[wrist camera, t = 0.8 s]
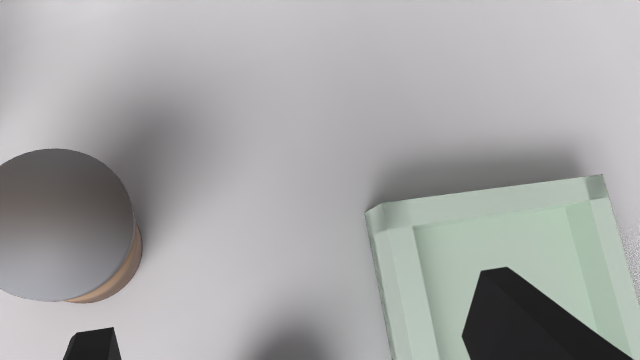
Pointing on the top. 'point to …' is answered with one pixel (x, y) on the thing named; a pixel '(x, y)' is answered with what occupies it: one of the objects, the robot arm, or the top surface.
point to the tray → (500, 261)
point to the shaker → (65, 228)
